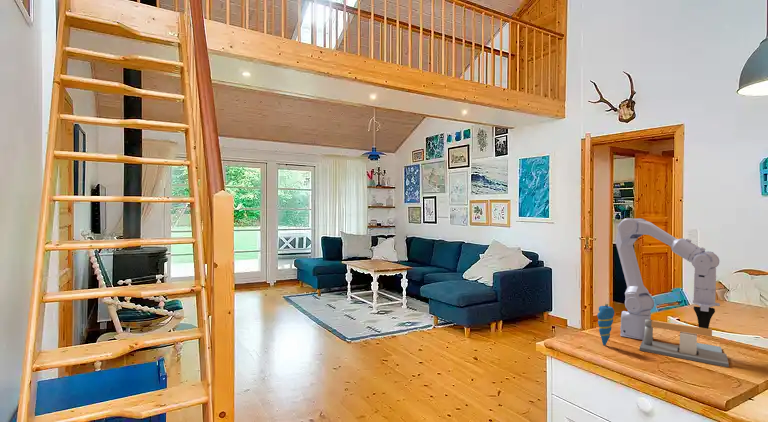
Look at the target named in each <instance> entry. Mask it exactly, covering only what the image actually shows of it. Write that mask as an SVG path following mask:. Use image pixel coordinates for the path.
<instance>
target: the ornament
mask: <svg viewBox="0 0 768 422" xmlns="http://www.w3.org/2000/svg"><path fill="white" fill-rule="evenodd" d="M596 316H597V319H598V320H597V324H598V327H599V328H598V333H599V335H600V338H601V341H602V342H601V343H602V345H603V346H607V343H608V341H609V340H610V337H611V331H612V325H613V323H614V316H615V309H614V308H613V307H612V306H609V302H608V301H606V303H605V304H604V305H600V306H599V307H598V312H597V315H596Z"/></svg>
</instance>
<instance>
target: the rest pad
mask: <svg viewBox="0 0 768 422" xmlns="http://www.w3.org/2000/svg"><path fill="white" fill-rule="evenodd" d="M697 349H702V350H707V351H713V352H719V353H723V351H722V350H723V349H722V347H721V346H718V345H714V344H712V345H711V344H708V343H707V344H706V343H700V342H697Z"/></svg>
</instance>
